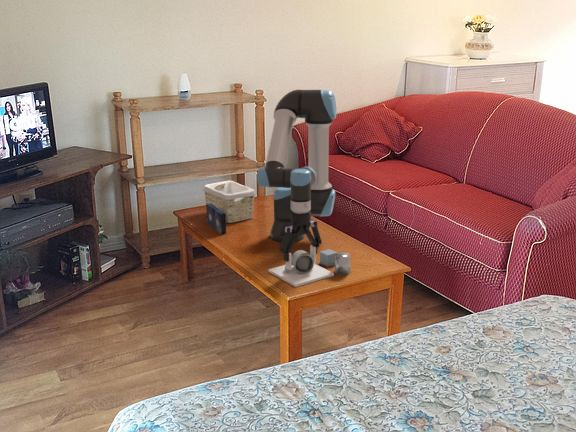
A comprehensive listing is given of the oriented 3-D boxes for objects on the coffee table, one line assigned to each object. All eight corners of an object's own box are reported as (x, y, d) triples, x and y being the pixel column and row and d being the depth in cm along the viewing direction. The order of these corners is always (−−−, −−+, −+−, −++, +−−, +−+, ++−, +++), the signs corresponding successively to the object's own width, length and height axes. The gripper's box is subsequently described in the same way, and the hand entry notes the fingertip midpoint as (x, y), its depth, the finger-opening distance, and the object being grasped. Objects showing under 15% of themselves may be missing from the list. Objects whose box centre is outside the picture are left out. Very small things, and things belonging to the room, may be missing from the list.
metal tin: (343, 267, 264) (343, 251, 262) (353, 272, 260) (353, 255, 257) (331, 271, 261) (331, 254, 259) (341, 276, 256) (341, 259, 254)
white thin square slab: (306, 261, 271) (306, 259, 271) (333, 275, 257) (333, 273, 256) (268, 271, 261) (268, 269, 261) (295, 287, 247) (295, 284, 247)
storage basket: (203, 213, 334) (202, 184, 330) (231, 207, 343) (230, 179, 338) (227, 225, 315) (226, 195, 311) (256, 219, 324) (256, 189, 320)
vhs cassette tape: (226, 234, 304) (225, 213, 300) (220, 235, 302) (219, 214, 299) (212, 222, 319) (211, 202, 316) (206, 223, 318) (205, 203, 315)
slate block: (329, 260, 272) (329, 248, 270) (337, 264, 268) (337, 252, 267) (319, 263, 269) (319, 251, 268) (327, 267, 265) (327, 255, 264)
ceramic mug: (308, 265, 264) (308, 246, 262) (314, 272, 257) (313, 254, 254) (282, 268, 262) (281, 249, 260) (287, 276, 254) (286, 257, 252)
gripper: (280, 219, 242) (281, 275, 249) (331, 207, 255) (330, 261, 261) (269, 213, 248) (270, 269, 255) (319, 202, 260) (319, 255, 267)
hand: (300, 265), depth 258 cm, fingers open, 11 cm apart
